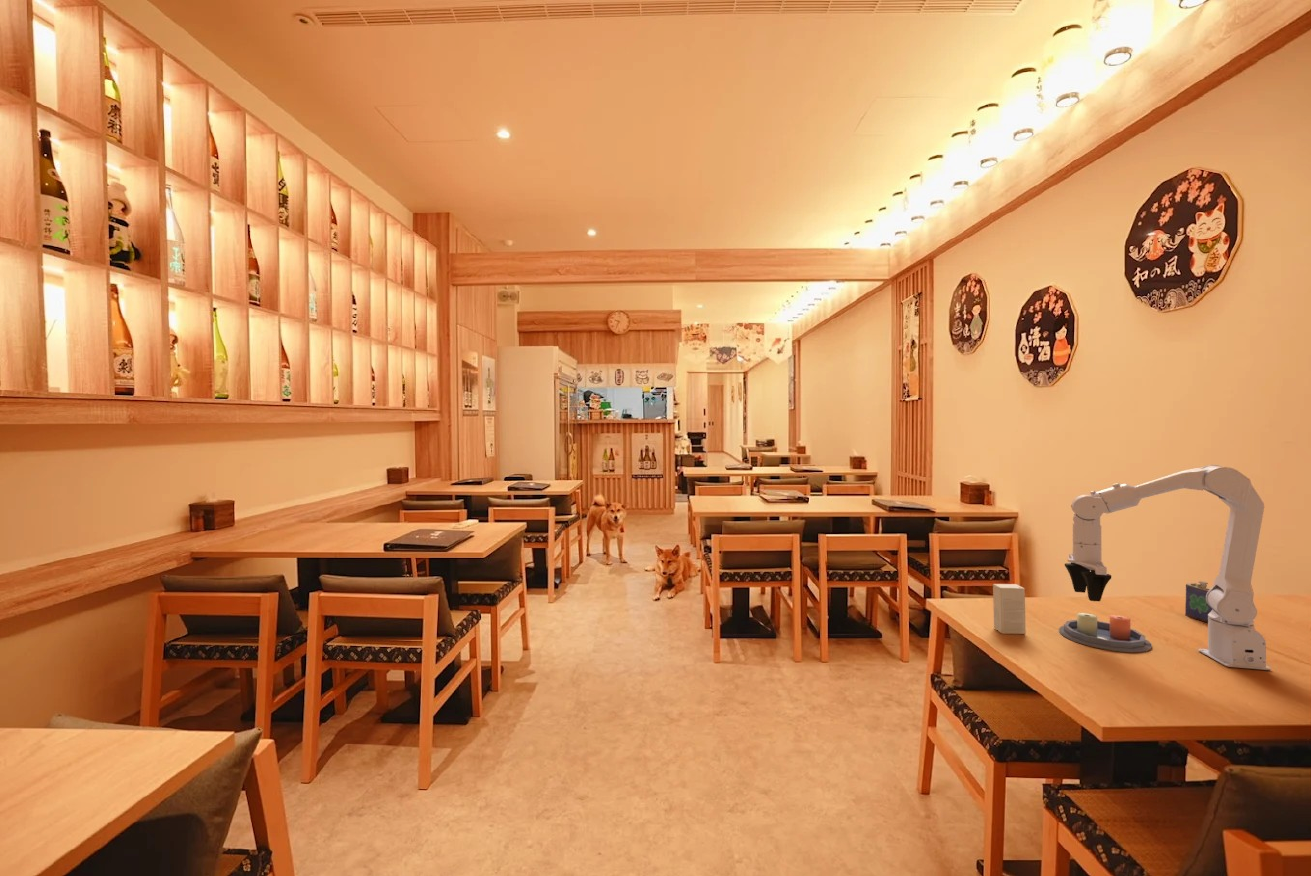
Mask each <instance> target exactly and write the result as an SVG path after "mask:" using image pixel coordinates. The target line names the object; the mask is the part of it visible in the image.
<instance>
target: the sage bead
mask: <svg viewBox="0 0 1311 876" xmlns="http://www.w3.org/2000/svg"><path fill="white" fill-rule="evenodd" d="M1076 620H1077V632H1080V633H1083V634H1085V635H1088V636H1092V637H1097V621H1098V616H1096V615H1095V614H1091V613H1087V612H1079V613H1077V614H1076Z"/></svg>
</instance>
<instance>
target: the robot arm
mask: <svg viewBox="0 0 1311 876" xmlns="http://www.w3.org/2000/svg"><path fill="white" fill-rule="evenodd" d="M1111 485H1112V486H1111V487H1108V488H1104V489H1102V490H1101V489H1100V490H1098V491H1096V490H1091V491H1089V494H1081V495H1079V496H1076V497H1075V498H1073V501H1072V502H1071V505H1070V507H1071V510H1072V512H1073V513H1074V514H1073V517H1072V521H1073V523H1072V553H1069V554H1068V556H1069V557H1068V558H1067V562H1068V563H1067V562H1066V563H1064V567H1065V568H1066V570H1067V572H1068V574H1069V576H1070V579H1071V584H1072V587H1073V590H1074V592H1075V593H1083V594H1084V593H1087V596H1088V600H1089V601H1090V602H1101V600H1102V597H1103V594H1104V591H1105V589H1106V586H1107V585H1108V584H1109V582H1110V580H1111V579H1112V574H1109V573H1108V569H1107V566H1105V564H1104V562H1103V561H1102V525H1101V516H1103V514H1106V515H1108V514H1112V513H1114V512H1118V511H1122V510H1126V509H1129V508H1132V507H1136V506H1138V505H1139V503H1140V502H1141V500H1142V499H1144V498H1149V497H1155V496H1156V495H1157V496H1158V495H1161V494H1165V493H1170V492H1172V491H1174V492H1175V491H1177V490H1181V489H1187V490H1194V491H1195V490H1196V491H1206V492H1208V493H1210V494H1212V495H1214V496H1216V497H1218V499H1219V500H1221V501H1222V502H1223V503H1224V504H1225V505H1226V506H1228V507H1229V509H1230V510H1229V516H1228V521H1227V528H1226V532H1225V538H1224V543H1223V544H1224V545H1223V550H1222V556H1221V562H1220V568H1219V573H1218V575H1217V577H1216V578H1215V579H1214V581H1213V586H1212V587H1211V588H1209V589H1210V590H1209V591H1208V592H1207V594H1206V601H1207V603H1208V605H1209V606H1210V607H1211V608H1212V610H1211V612H1210V613H1209V614H1208V623H1207V648H1197V651H1198V652H1200V653H1201V654H1203V655H1206V656H1207V657H1209V658H1211V659H1212V660H1214V661H1215V662H1217V663H1219V664H1221V665H1223V666H1225V667H1229V668H1239V669H1240V668H1241V669H1250V670H1251V669H1252V670H1264V671H1272V667H1270V666H1268V665H1267V642H1266V639H1265V637H1264V636H1263V634H1261V633H1260V632H1258V630H1256V627H1255V624H1254V623H1255V621H1254V620H1255V619H1256V617H1257V614H1258V610H1257V607H1256V605H1255V602H1254V596H1255V594H1254V588H1253V585H1252V579H1253V574H1254V573H1253V571H1254V567H1255V561H1256V556H1257V549H1258V545H1259V541H1260V540H1259V539H1260V534H1261V528H1262V522H1263V518H1264V516H1263V515H1264V511H1265V510H1264V509H1265V503H1264V501H1263V500H1262V498H1261V497H1260V495H1259V493H1258V492H1257V490H1256V489H1255V487H1254V486H1253V484H1252V482H1251V478H1249V477H1247V475H1244V474H1243V473H1242V472H1240V470H1237V469H1235V468H1232V467H1227V466H1221V465H1217V464H1209V465H1204V466H1202V467H1195V468H1190V469H1185V470H1182V471H1178V472H1174V473H1171V474H1169V475H1165V476H1163V477H1159V478H1156V479H1153V480H1149V481H1147V482H1144V483H1141V484H1138V485H1131V484H1128V483H1122V484H1120V482H1117V483H1113V484H1111Z"/></svg>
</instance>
